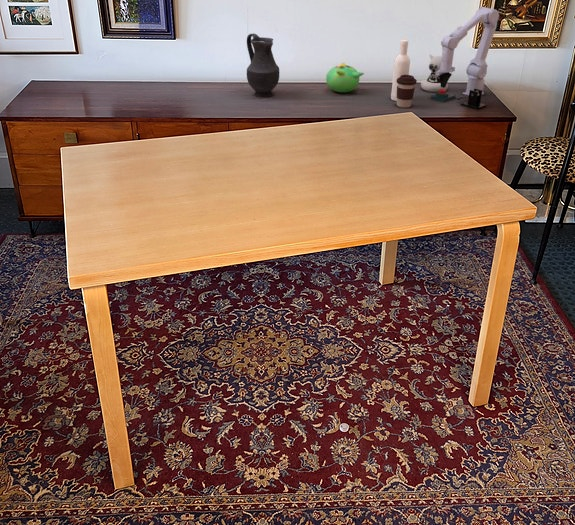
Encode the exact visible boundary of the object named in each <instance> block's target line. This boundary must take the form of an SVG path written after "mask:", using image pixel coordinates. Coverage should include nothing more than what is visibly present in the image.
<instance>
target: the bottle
mask: <svg viewBox="0 0 575 525" xmlns="http://www.w3.org/2000/svg"><path fill="white" fill-rule="evenodd" d="M399 44H400V47H399V54H398V55H397V56H396V57H395V59H394V64H393V74H392V84H391V86H392V87H391V93H390V99H391V101H393V102H397V86H398V83H397V78H400V76H401V75H410V66H411V59H410V57H409V56H408V47H409V40H408V39H401V40H400V43H399Z"/></svg>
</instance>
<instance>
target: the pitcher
mask: <svg viewBox="0 0 575 525" xmlns="http://www.w3.org/2000/svg"><path fill="white" fill-rule="evenodd" d="M273 41H274V38H272V37H264V36H263V37H261V36H259V35H258V34H256V33H254V32H253V33H249V34H248V35H247V37H246V48H247V51H248V56H249V60H250V63H249V65H248V66H247V68H246V81H247V83H248V85H249V86H250V88H251V89H253V91H254V96H256V97H258V98H269V97H272V96H273V90H275V88H276V87H277V85H278V83H279V80H280V66H278V64H277V63H276V60H275V57H274V54H273V50H272V47H273V45H274V42H273Z"/></svg>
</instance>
